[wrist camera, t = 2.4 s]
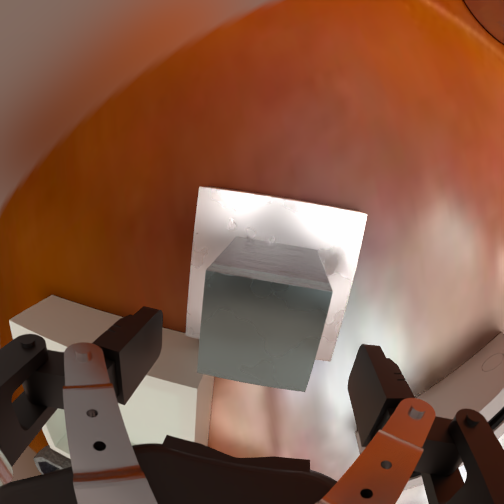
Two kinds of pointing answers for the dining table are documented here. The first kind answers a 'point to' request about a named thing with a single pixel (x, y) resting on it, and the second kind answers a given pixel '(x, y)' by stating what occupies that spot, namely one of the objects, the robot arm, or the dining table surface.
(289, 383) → the grey rectangular block
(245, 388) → the dining table surface
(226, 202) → the stud plate
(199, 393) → the bin
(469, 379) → the napkin holder
